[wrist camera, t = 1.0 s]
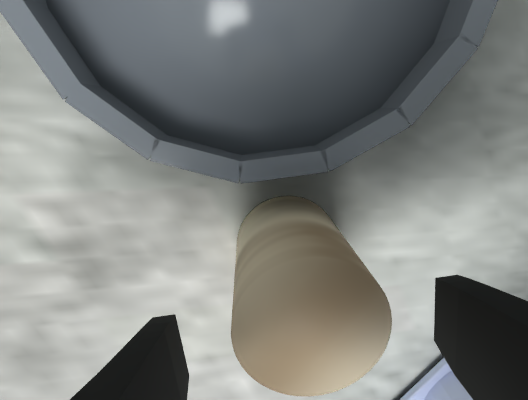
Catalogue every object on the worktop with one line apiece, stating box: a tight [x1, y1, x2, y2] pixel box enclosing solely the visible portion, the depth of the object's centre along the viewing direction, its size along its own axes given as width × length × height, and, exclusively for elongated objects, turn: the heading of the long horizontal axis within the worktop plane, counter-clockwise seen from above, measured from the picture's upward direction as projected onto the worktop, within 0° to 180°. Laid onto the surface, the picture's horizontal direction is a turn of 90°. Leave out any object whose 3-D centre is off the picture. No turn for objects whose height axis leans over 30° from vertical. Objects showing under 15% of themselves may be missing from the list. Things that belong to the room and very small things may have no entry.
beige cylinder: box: [231, 196, 392, 396], centre depth 12 cm, size 4×4×6 cm
